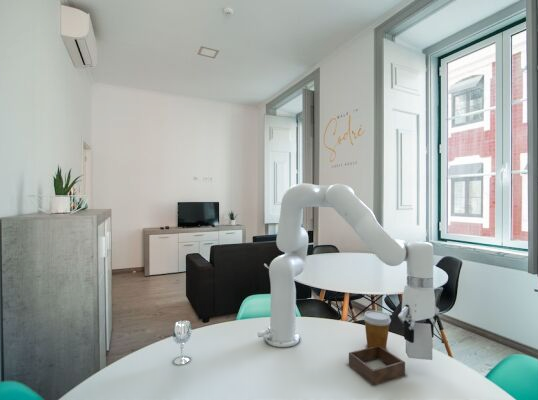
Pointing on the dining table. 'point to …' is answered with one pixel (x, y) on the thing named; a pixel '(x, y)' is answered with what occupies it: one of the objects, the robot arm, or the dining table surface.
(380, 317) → the disposable coffee cup
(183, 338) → the wineglass
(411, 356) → the white food carton
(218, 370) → the dining table surface
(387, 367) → the crate
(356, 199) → the robot arm
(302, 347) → the dining table surface
